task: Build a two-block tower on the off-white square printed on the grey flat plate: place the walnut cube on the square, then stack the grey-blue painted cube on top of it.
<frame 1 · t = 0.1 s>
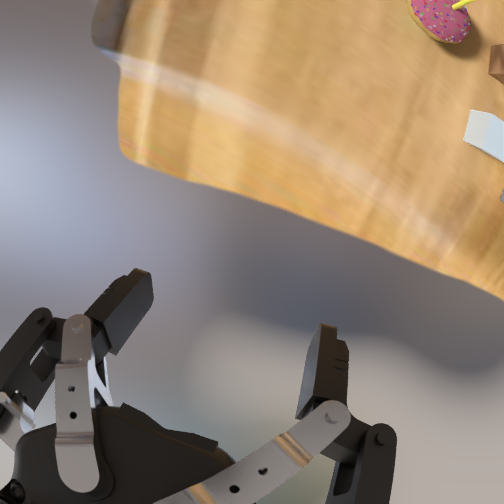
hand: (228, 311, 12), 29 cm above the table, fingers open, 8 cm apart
cupcake: (428, 20, 20), on the table
walnut block: (501, 68, 19), on the table
greyblue block: (479, 131, 26), on the table
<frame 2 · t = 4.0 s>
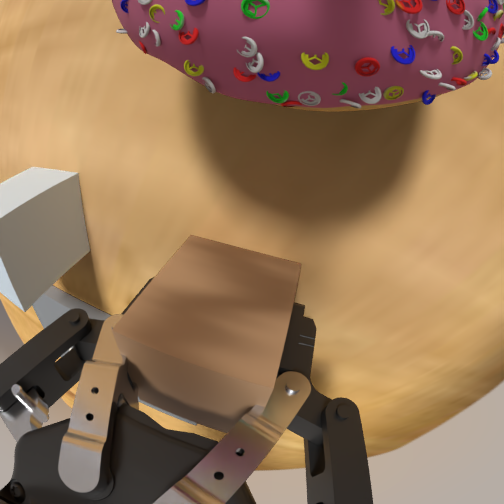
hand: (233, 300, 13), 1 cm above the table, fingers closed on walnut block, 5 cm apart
walnut block: (238, 291, 13), on the table, touching gripper
grey flat plate: (109, 351, 22), on the table
greyblue block: (59, 206, 14), on the table
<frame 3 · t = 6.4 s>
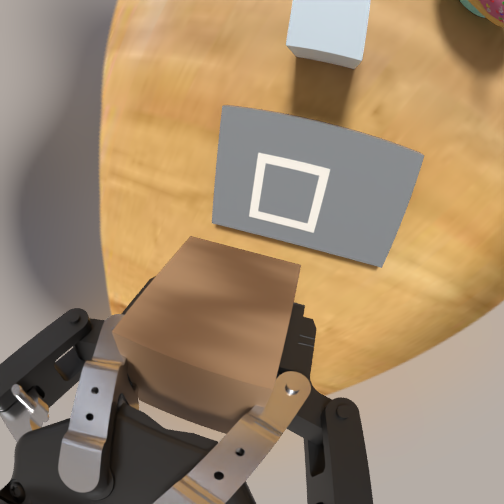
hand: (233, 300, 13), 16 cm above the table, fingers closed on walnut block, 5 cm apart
walnut block: (237, 292, 13), point 15 cm above the table, touching gripper
grey flat plate: (312, 184, 25), on the table
greyblue block: (329, 37, 17), on the table
when the fingers open (3 cm above the table, at t = 9.1 s): walnut block drops 1 cm, resting on grey flat plate.
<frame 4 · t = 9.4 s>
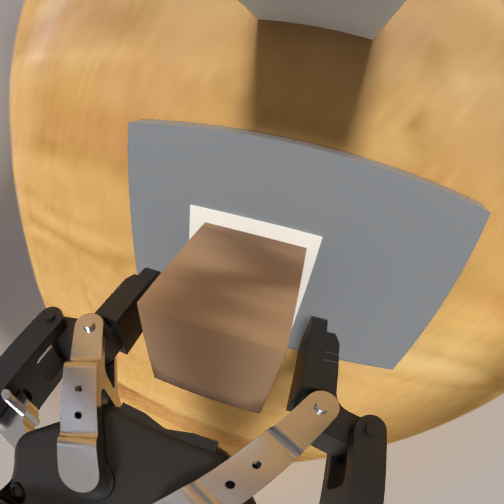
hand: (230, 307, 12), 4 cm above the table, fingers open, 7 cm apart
walnut block: (247, 275, 14), point 1 cm above the table, touching grey flat plate
grey flat plate: (290, 255, 15), on the table
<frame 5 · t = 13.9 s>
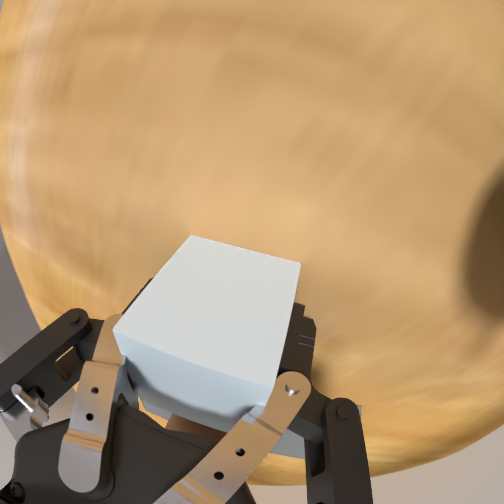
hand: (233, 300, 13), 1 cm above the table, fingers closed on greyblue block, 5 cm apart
walnut block: (207, 420, 21), point 1 cm above the table, touching grey flat plate
grey flat plate: (232, 411, 21), on the table
greyblue block: (238, 291, 13), on the table, touching gripper
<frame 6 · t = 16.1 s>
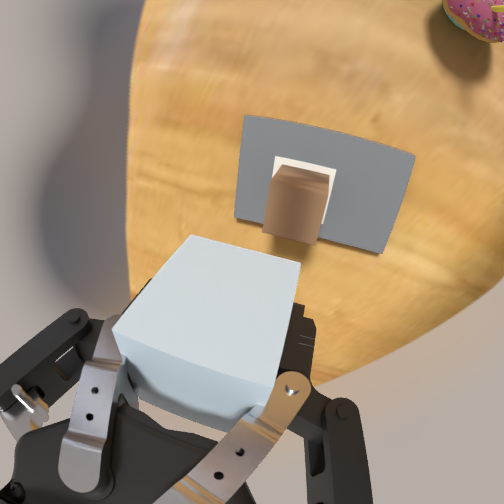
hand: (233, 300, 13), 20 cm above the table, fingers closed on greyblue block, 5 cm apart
cupcake: (459, 12, 13), on the table
walnut block: (301, 191, 29), point 1 cm above the table, touching grey flat plate
grey flat plate: (321, 182, 29), on the table
greyblue block: (238, 291, 13), point 20 cm above the table, touching gripper
when the fingers open (9 cm above the table, at t = 18.6 s): greyblue block stays where it is, resting on walnut block.
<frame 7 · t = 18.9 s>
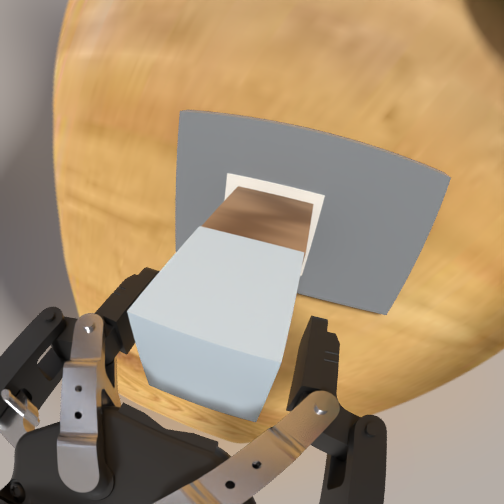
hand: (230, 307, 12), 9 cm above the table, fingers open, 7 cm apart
walnut block: (268, 228, 19), point 1 cm above the table, touching grey flat plate, greyblue block
grey flat plate: (300, 213, 19), on the table
greyblue block: (244, 280, 14), point 7 cm above the table, touching walnut block
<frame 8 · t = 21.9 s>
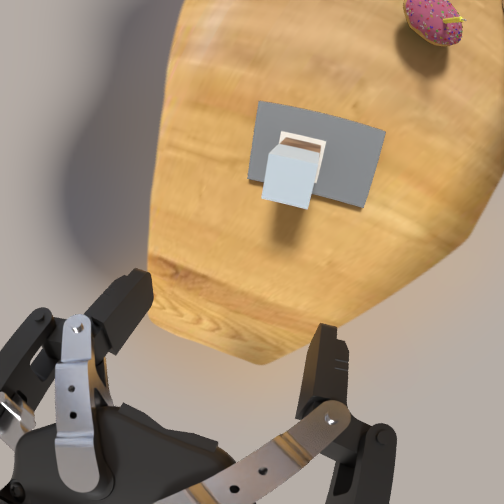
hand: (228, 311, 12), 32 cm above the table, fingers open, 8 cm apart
cupcake: (423, 24, 22), on the table
walnut block: (300, 157, 37), point 1 cm above the table, touching grey flat plate, greyblue block
grey flat plate: (314, 152, 38), on the table
greyblue block: (295, 167, 32), point 7 cm above the table, touching walnut block
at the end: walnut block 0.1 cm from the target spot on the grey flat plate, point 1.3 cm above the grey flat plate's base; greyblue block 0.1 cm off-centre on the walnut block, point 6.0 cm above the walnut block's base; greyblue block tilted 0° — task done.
